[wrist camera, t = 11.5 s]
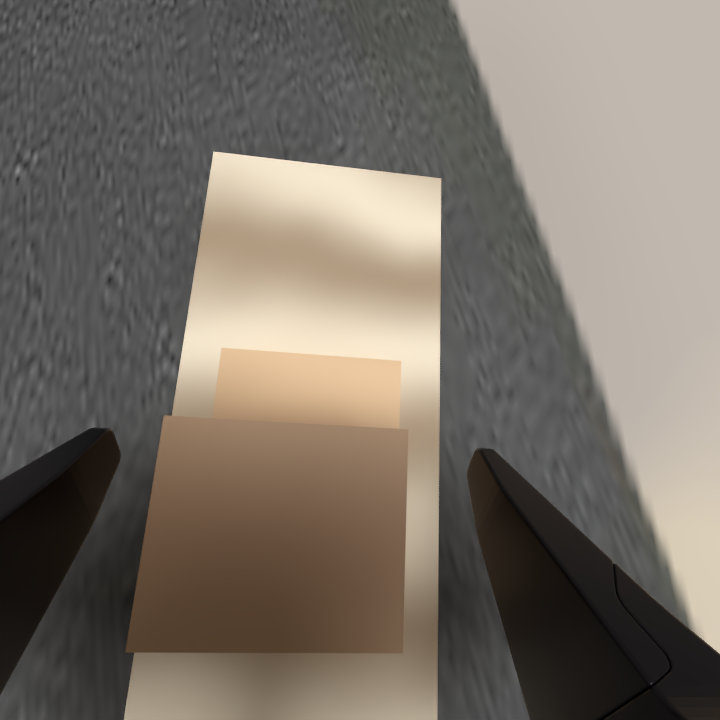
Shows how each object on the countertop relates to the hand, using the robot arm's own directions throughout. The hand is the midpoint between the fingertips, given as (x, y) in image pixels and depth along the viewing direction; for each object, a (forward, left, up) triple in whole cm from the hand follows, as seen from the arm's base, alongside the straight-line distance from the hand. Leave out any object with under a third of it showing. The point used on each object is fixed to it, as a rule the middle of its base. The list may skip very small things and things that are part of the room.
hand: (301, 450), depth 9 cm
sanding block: (-1, 0, -4) cm, 5 cm away
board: (0, 0, -7) cm, 8 cm away
